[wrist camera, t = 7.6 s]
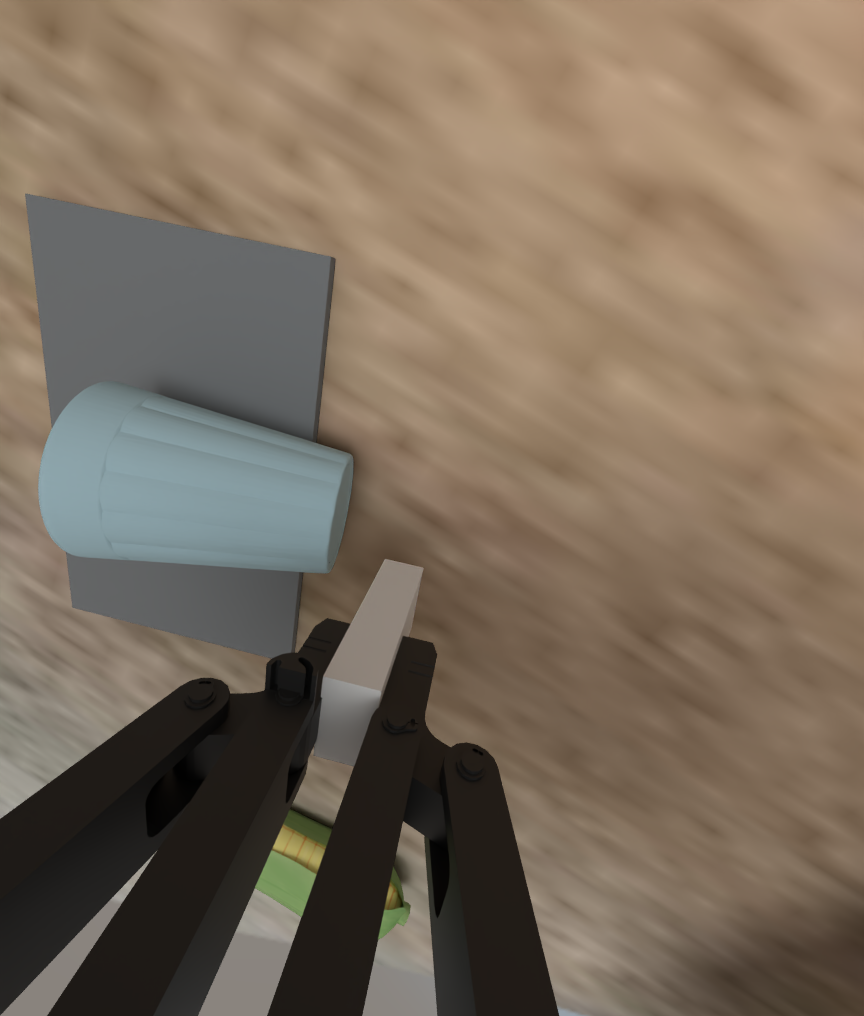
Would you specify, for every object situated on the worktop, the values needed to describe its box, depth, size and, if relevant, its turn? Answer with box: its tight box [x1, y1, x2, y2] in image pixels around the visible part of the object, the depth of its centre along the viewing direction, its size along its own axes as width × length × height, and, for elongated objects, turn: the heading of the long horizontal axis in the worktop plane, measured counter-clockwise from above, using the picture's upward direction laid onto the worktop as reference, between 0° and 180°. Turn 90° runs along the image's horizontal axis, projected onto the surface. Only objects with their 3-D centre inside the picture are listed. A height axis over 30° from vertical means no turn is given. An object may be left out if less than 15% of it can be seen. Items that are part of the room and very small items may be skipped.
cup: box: [38, 381, 353, 573], centre depth 21 cm, size 8×8×10 cm
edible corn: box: [255, 809, 411, 940], centre depth 32 cm, size 5×20×4 cm
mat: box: [25, 194, 335, 658], centre depth 25 cm, size 14×22×1 cm, turn 169°
